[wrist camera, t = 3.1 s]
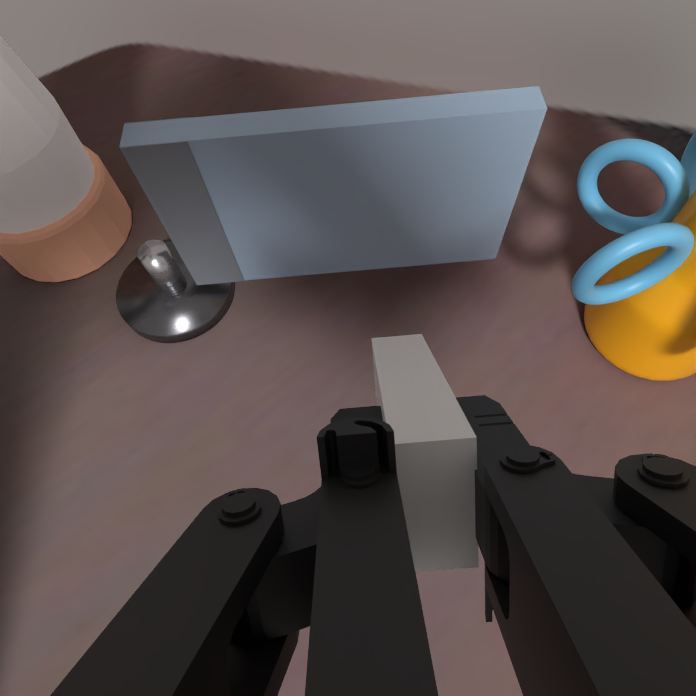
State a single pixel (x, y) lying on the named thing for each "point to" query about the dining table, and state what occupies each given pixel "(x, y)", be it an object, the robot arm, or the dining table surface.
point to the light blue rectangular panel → (338, 183)
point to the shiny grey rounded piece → (168, 296)
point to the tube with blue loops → (643, 267)
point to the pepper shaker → (51, 185)
